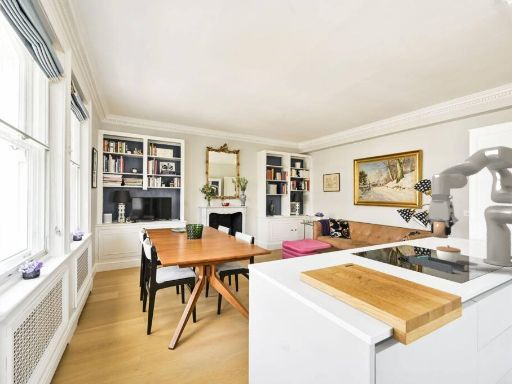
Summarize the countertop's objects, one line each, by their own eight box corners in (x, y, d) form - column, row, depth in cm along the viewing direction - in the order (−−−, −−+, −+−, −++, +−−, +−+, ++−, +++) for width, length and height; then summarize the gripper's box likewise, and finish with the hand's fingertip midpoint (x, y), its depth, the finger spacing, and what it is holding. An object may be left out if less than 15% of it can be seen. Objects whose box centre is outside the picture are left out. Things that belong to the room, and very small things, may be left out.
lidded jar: (461, 266, 131) (461, 248, 131) (435, 262, 137) (435, 245, 137) (460, 262, 139) (460, 245, 139) (436, 258, 146) (436, 242, 146)
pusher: (426, 262, 137) (426, 255, 137) (428, 262, 136) (428, 256, 136) (417, 263, 134) (417, 256, 134) (419, 263, 133) (419, 257, 133)
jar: (438, 235, 131) (438, 218, 131) (451, 237, 125) (451, 219, 125) (430, 236, 129) (430, 218, 129) (443, 238, 123) (443, 219, 123)
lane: (420, 260, 142) (420, 254, 142) (464, 271, 121) (464, 264, 121) (408, 262, 138) (408, 255, 138) (451, 273, 118) (451, 266, 118)
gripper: (464, 198, 121) (464, 236, 120) (428, 198, 137) (428, 231, 136) (454, 198, 118) (454, 237, 118) (419, 198, 134) (419, 231, 134)
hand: (440, 233), depth 127 cm, fingers closed on jar, 6 cm apart
